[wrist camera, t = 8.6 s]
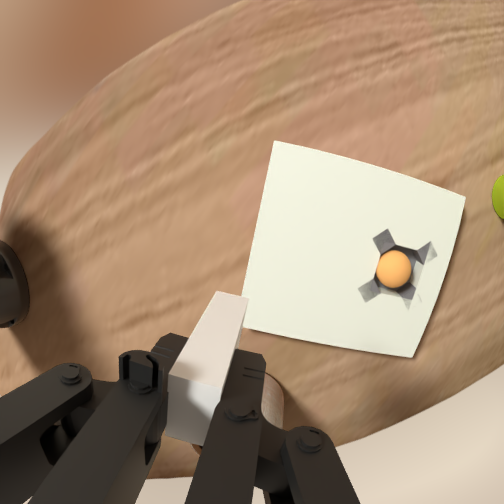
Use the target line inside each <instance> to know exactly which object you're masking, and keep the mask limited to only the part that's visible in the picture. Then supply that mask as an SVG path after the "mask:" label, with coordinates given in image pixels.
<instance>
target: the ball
mask: <svg viewBox="0 0 504 504" xmlns="http://www.w3.org/2000/svg"><path fill="white" fill-rule="evenodd" d="M410 274H411V263H410V261H409V259H408V257H407V256H406V255H405V254H404V253H402V252H400V251H396V250H391V251H387V252H385V253H384V254H382V255H381V256H380V258H379V262H378V265H377V268H376V275H377V277H378V279H379V281H380V282H381V283H382V284H383V285H385V286H387V287H391V288H396V287H399V286H402V285H403V284H404V283H406V282H407V280H408V279H409V277H410Z"/></svg>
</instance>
